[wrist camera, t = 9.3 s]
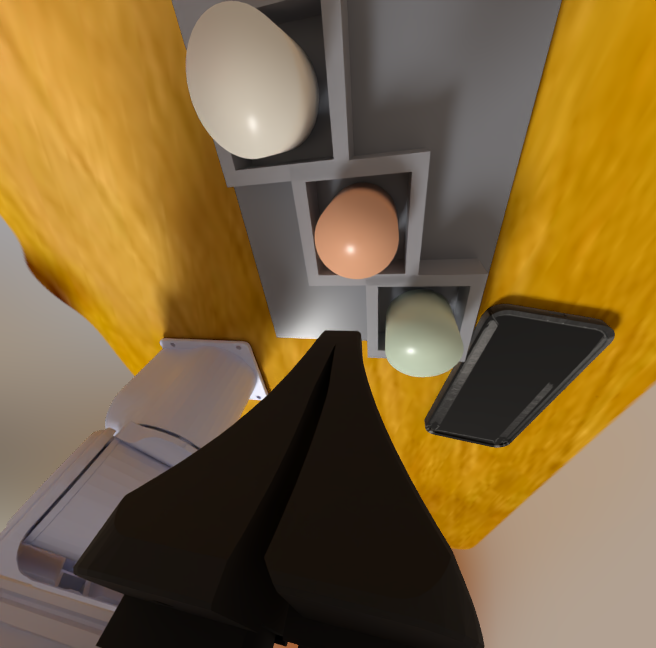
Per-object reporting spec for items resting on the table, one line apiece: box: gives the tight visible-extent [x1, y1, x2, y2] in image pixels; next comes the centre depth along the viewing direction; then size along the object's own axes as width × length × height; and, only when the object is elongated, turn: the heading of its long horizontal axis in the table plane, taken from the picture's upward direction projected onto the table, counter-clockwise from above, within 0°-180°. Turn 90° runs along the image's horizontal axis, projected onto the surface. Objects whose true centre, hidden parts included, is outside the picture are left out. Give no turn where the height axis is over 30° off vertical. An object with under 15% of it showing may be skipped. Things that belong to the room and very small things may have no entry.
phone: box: [425, 304, 615, 447], centre depth 22 cm, size 8×1×15 cm
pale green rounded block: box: [385, 289, 464, 377], centre depth 16 cm, size 4×4×3 cm
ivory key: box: [186, 1, 319, 159], centre depth 10 cm, size 4×4×3 cm
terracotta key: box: [315, 183, 399, 279], centre depth 14 cm, size 4×4×3 cm
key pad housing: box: [172, 0, 562, 362], centre depth 15 cm, size 15×18×3 cm
